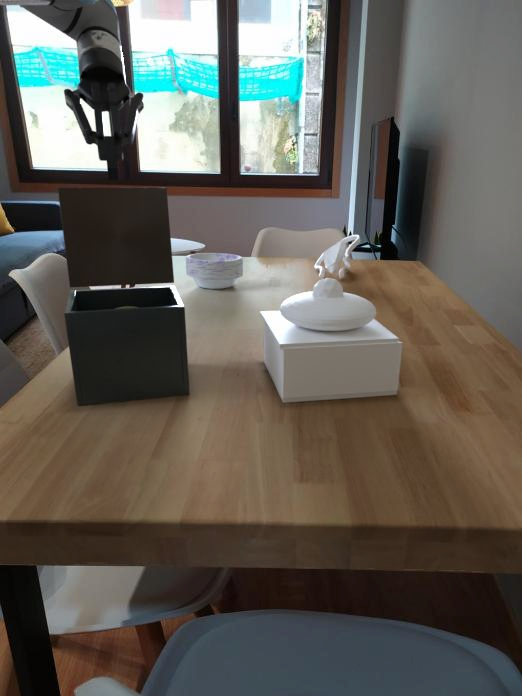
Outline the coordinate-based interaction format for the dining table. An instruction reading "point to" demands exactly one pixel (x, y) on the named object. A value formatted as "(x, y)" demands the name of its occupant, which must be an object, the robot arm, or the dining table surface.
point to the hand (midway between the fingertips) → (112, 173)
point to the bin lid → (116, 235)
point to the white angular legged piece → (337, 257)
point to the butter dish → (329, 347)
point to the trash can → (127, 344)
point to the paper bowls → (214, 269)
